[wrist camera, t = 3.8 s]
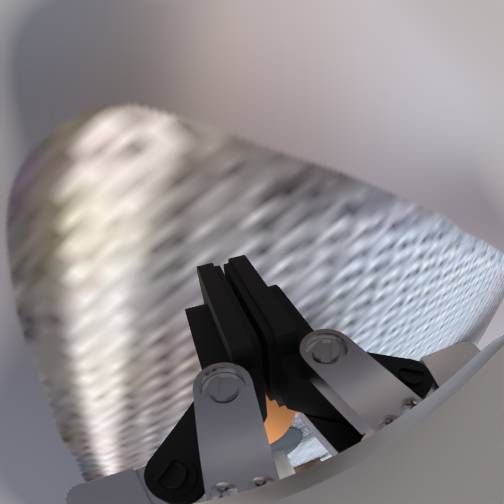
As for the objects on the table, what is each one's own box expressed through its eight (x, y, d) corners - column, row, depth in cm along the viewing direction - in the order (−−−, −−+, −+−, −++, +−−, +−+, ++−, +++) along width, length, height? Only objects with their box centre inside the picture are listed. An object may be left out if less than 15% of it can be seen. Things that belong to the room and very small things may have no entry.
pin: (283, 445, 28) (314, 504, 20) (283, 452, 29) (312, 506, 21) (264, 452, 27) (293, 512, 20) (265, 458, 28) (293, 514, 21)
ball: (273, 329, 18) (317, 399, 13) (275, 382, 21) (308, 442, 16) (182, 354, 16) (203, 437, 11) (202, 404, 19) (223, 471, 14)
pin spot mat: (304, 414, 25) (305, 416, 25) (298, 452, 31) (299, 453, 31) (190, 449, 22) (191, 451, 22) (214, 479, 28) (214, 480, 28)
